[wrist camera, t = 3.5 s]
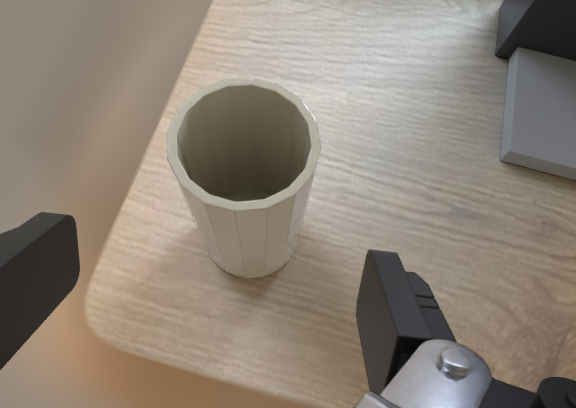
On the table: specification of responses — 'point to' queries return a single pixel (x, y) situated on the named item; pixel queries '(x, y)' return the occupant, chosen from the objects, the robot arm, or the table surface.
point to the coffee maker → (539, 84)
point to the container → (245, 171)
